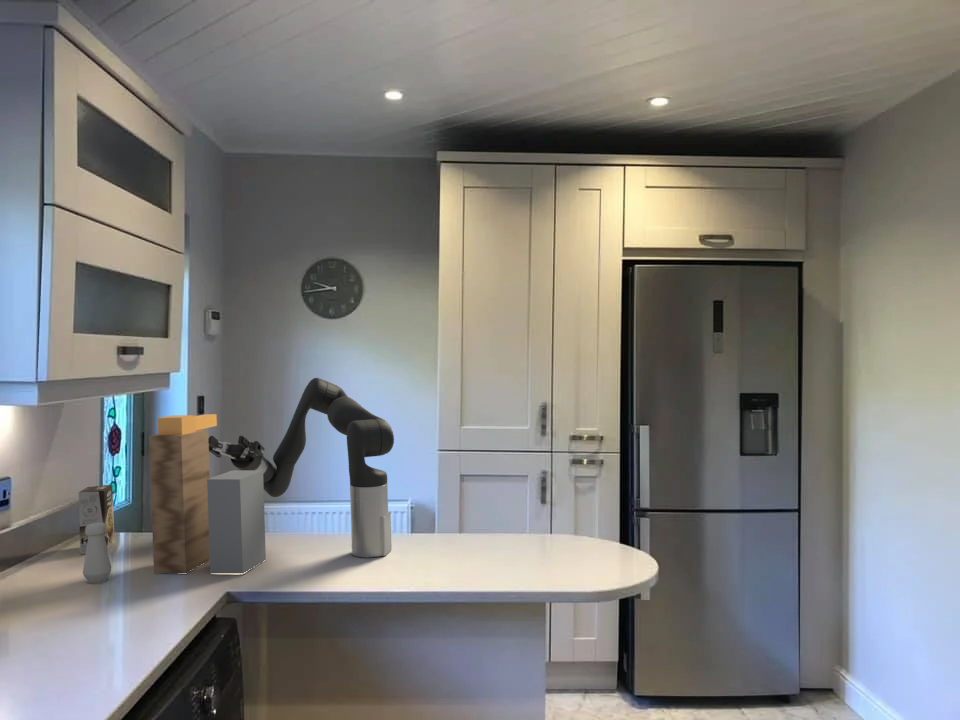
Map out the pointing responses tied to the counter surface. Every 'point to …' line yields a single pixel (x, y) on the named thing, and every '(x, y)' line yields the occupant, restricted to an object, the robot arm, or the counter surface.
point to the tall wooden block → (179, 501)
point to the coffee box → (96, 512)
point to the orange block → (185, 423)
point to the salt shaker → (96, 554)
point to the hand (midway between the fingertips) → (225, 438)
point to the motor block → (236, 521)
